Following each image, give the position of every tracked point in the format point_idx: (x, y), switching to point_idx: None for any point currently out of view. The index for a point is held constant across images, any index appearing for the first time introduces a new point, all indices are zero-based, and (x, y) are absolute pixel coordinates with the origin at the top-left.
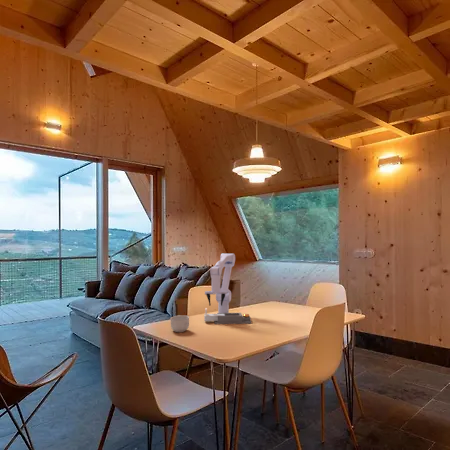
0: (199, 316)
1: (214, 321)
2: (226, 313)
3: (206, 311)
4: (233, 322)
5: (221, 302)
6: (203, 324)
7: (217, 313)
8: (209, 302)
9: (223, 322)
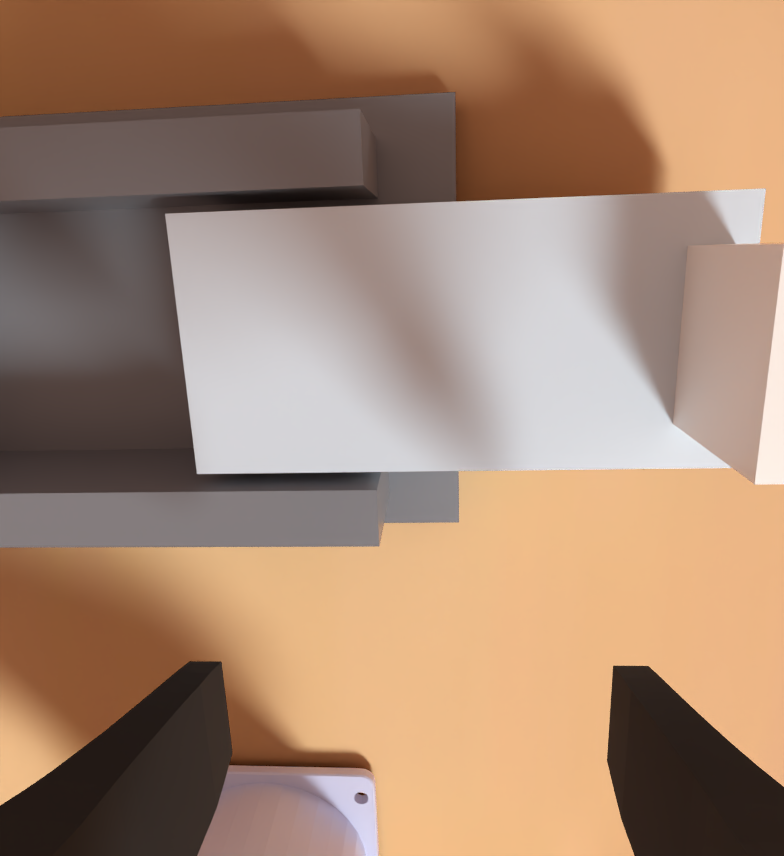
0: None
1: None
2: (142, 490)
3: (756, 247)
4: (20, 118)
5: (158, 726)
6: (721, 66)
7: (374, 488)
8: (708, 734)
9: (245, 106)
